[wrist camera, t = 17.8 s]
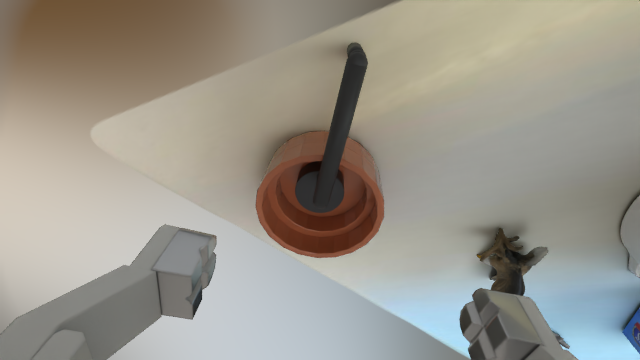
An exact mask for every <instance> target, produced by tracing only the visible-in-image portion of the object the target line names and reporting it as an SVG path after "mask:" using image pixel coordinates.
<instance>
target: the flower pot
mask: <svg viewBox="0 0 640 360" xmlns="http://www.w3.org/2000/svg"><path fill="white" fill-rule="evenodd" d="M328 135H329V132H327V131H320V132H307V133H304V134H302V135H299V136H297V137H294V138H292V139H290V140H288V141H287V142H286V143H285V144H283V145H282V146H281V147H280V148H279V149H278V150H277V151H276V152H275V154H274V156H273V157H272V159H271V161H270V163H269V165H268V167H267V169H266V172H265V174H264V176H263V179H262V181H261V183H260V186H259V188H258V190H257V197H256V210H257V214H258V218H259V221H260V223H261V225H262V226H263V228H264V229H265V231H266V232H267V234H268V235H269V236H270V237H271V238H272V239H274V240H275V241H276V242H277V243H279V244H280V245H281V246H282V247H284V248H286V249H288V250H291V251H293V252H295V253H297V254H300V255H305V256H310V257H315V258H316V257H317V258H327V257H338V256H341V255H345V254H349V253H352V252H354V251H356V250H357V249H359V248H361V247H363V246H364V245H366V244H367V243H368V242H369V241H370V240H371V239H372V238H373V237H374V236H375V234H376V233H377V232H378V230H379V228H380V225H381V223H382V220H383V218H384V199H383V193H382V187H381V182H380V176H379V171H378V169H377V166H376V164H375V162H374V159H373V157H372V156H371V155H370V154H369V153H368V152H367V150H366V149H365V148H364V147H363V146H362V145H361V144H359V143H357V142H356V141H354V140H352V139H350V138H349V137H347V141H346V144H345V148H344V151H343V155H342V159H341V162H340V166H339V170H340V171H341V173H342V175H343V178H344V198H343V200H342V202H341V204H340V205H339V206H338V207H337V208H335V209H334V210H332V211H330V212H326V213H315V212H311V211H309V210H307V209H305V208H304V207H303V206H301V204H300V203H299V202H298V200H297V198H296V195H295V187H296V183H297V179H298V176H299V173H300V171H301V170H302V169H303V168H304V167H305V166H306V165H308V164H309V163H312V162H316V161H322V159H323V155H324V151H325V147H326V143H327V139H328Z"/></svg>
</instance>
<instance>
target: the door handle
mask: <svg viewBox="0 0 640 360" xmlns="http://www.w3.org/2000/svg"><path fill="white" fill-rule="evenodd" d="M347 54H348V59H347V61H346V66H345V70H344V74H343V78H342V82H341V86H340V90H339V94H338V98H337V102H336V106H335V110H334V114H333V118H332V123H331V127H330V131H329V135H328V139H327V143H326V147H325V151H324V155H323V159H322V161H316V162H312V163H309V164H308V165H306V166H305V167H304V168H303V169H302V170H301V171H300V173H299V176H298V179H297V183H296V187H295V195H296V198H297V200H298V202H299V203H300V204H301V206H303V207H304V208H305V209H307V210H309V211H311V212H315V213H326V212H330V211H332V210H334V209H335V208H337V207H338V206H339V205H340V204H341V202H342V200H343V198H344V178H343V175H342V173H341V171H340V170H339V166H340V162H341V159H342V155H343V151H344V148H345V144H346V141H347V137H348V134H349V130H350V126H351V123H352V119H353V116H354V112H355V108H356V105H357V101H358V98H359V94H360V91H361V87H362V83H363V80H364V76H365V73H366V69H367V65H368V61H367V58H366V54H365V53H364V51H363V49H362V47H361V45H360V44H358V43H356V42H354V43H351V44H350V45H349V46H348V48H347Z"/></svg>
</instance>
